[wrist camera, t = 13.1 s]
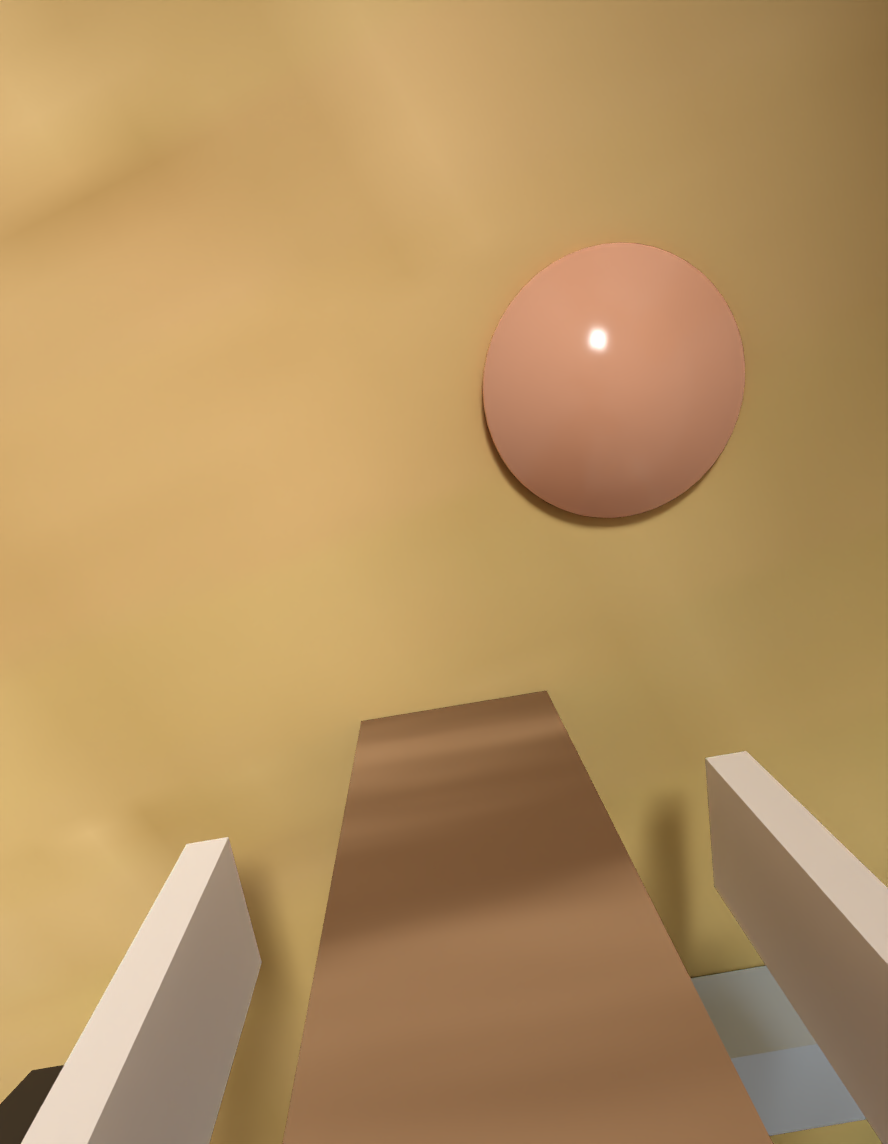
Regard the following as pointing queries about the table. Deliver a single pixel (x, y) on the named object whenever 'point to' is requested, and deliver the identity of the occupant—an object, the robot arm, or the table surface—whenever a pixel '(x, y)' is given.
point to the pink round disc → (614, 380)
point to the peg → (499, 957)
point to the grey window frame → (774, 1052)
